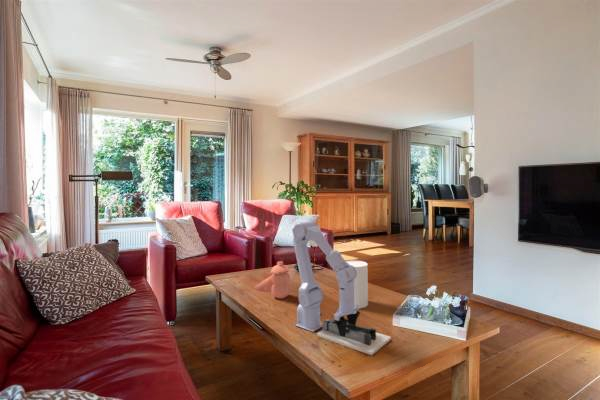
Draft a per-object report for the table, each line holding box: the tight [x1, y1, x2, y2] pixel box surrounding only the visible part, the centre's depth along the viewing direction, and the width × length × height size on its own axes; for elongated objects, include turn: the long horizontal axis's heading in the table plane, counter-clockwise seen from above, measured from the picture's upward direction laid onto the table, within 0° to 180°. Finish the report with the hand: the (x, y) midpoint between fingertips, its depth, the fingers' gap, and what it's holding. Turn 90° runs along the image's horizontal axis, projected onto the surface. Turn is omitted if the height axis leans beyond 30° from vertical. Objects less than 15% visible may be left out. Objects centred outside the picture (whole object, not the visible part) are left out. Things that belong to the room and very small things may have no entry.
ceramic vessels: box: [254, 260, 291, 299], centre depth 188 cm, size 35×21×19 cm, turn 18°
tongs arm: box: [331, 319, 377, 340], centre depth 129 cm, size 18×1×4 cm, turn 59°
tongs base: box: [322, 318, 371, 346], centre depth 128 cm, size 21×3×4 cm, turn 50°
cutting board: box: [316, 329, 392, 356], centre depth 128 cm, size 24×15×1 cm, turn 50°
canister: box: [345, 259, 369, 309], centre depth 165 cm, size 14×14×20 cm
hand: (347, 332), depth 128 cm, fingers open, 6 cm apart
